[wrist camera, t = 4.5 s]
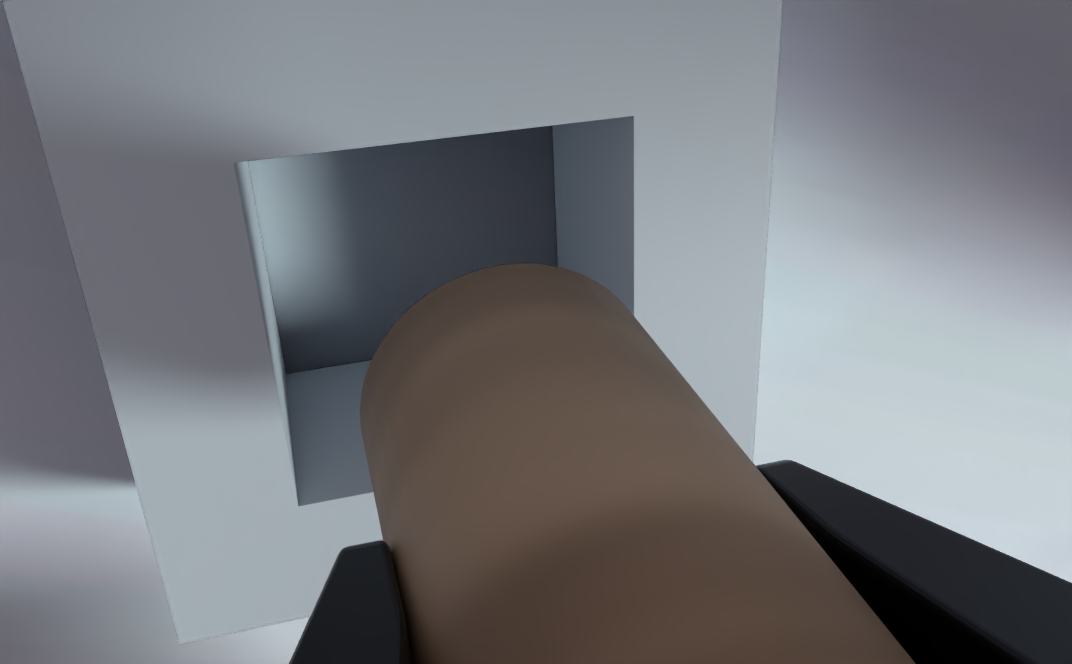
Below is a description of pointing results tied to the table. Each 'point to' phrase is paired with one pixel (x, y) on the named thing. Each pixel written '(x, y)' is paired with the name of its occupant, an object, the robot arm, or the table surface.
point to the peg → (582, 495)
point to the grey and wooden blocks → (356, 122)
